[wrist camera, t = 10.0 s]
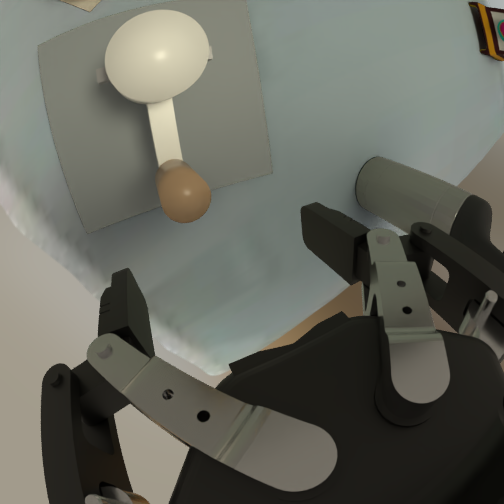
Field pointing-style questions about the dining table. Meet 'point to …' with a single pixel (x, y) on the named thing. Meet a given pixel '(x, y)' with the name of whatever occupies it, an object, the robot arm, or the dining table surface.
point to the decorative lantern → (492, 30)
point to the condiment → (83, 3)
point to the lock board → (137, 121)
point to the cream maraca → (162, 95)
